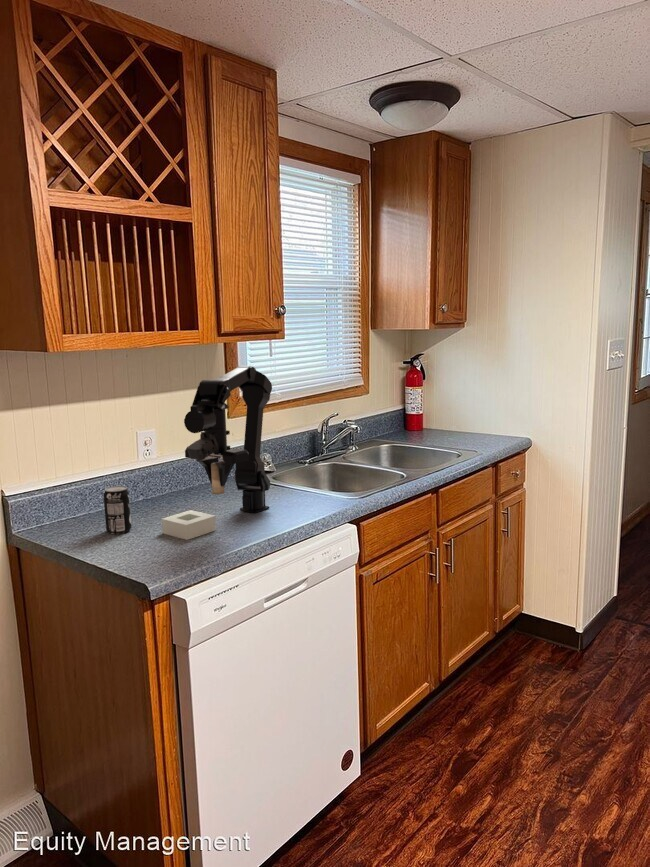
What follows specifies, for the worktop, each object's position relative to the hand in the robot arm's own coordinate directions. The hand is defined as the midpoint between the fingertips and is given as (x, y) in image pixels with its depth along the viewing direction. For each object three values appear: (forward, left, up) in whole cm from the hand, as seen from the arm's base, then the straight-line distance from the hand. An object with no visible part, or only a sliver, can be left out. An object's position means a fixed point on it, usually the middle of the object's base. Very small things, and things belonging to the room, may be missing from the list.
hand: (217, 485), depth 178 cm
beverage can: (+16, -22, -13) cm, 30 cm away
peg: (0, 0, -2) cm, 2 cm away
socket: (+6, -6, -12) cm, 15 cm away
